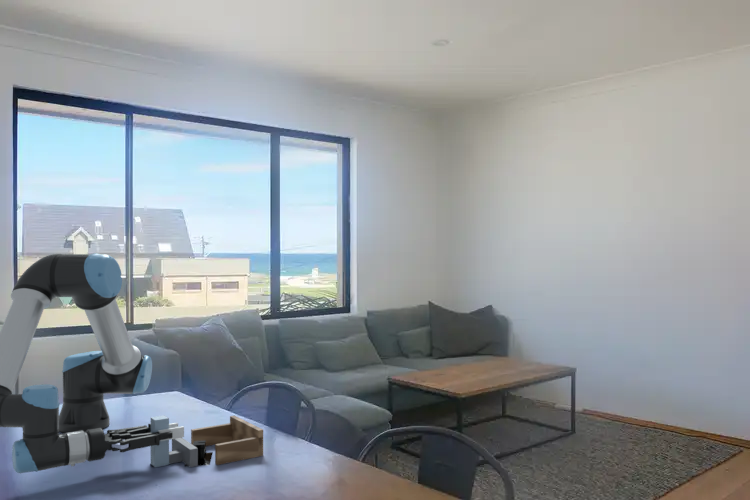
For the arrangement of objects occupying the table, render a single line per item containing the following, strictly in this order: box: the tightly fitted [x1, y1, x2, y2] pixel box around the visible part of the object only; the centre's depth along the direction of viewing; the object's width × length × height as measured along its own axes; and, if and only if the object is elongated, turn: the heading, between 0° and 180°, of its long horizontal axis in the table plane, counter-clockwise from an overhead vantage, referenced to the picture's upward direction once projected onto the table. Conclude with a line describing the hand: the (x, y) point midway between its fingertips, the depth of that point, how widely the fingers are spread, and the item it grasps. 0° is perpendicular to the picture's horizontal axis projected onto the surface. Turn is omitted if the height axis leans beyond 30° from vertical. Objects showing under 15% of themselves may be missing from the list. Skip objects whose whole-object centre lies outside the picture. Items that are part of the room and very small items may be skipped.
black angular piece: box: [184, 440, 214, 467], centre depth 173 cm, size 13×8×5 cm, turn 10°
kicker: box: [150, 415, 199, 468], centre depth 170 cm, size 14×9×12 cm, turn 36°
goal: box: [190, 415, 264, 466], centre depth 179 cm, size 19×13×7 cm
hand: (180, 429), depth 172 cm, fingers closed on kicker, 4 cm apart
